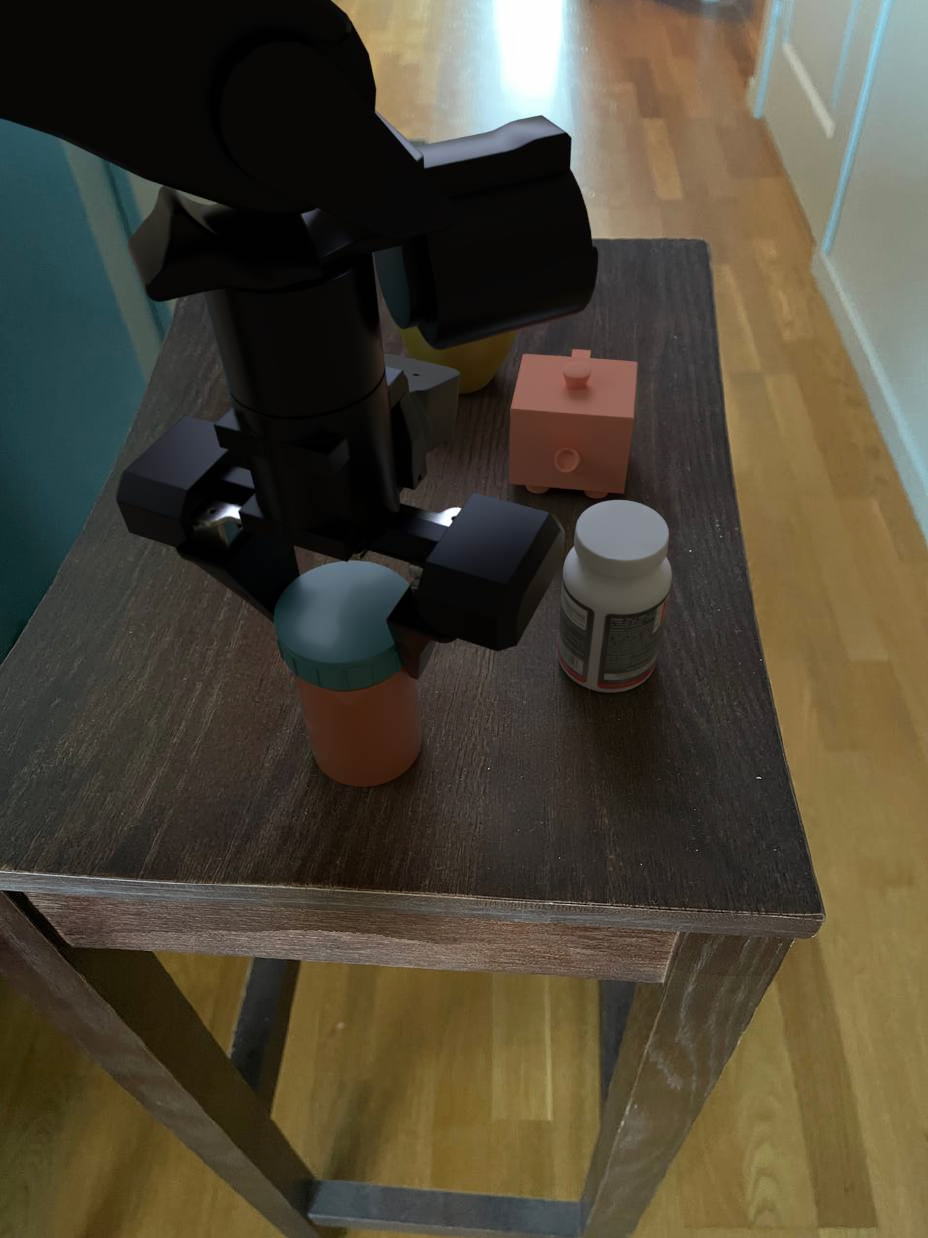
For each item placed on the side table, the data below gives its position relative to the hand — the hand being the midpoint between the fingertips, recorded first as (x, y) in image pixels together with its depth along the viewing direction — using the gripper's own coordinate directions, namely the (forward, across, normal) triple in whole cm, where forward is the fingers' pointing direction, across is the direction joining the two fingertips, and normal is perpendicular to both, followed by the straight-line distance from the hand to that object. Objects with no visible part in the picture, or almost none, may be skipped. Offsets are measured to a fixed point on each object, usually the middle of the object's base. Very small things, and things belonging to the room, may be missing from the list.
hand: (358, 651), depth 45 cm
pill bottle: (+7, -10, -10) cm, 16 cm away
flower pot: (+8, +10, -34) cm, 36 cm away
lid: (-3, 0, 0) cm, 3 cm away
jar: (+7, 0, 0) cm, 7 cm away
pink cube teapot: (+8, -2, -25) cm, 26 cm away
